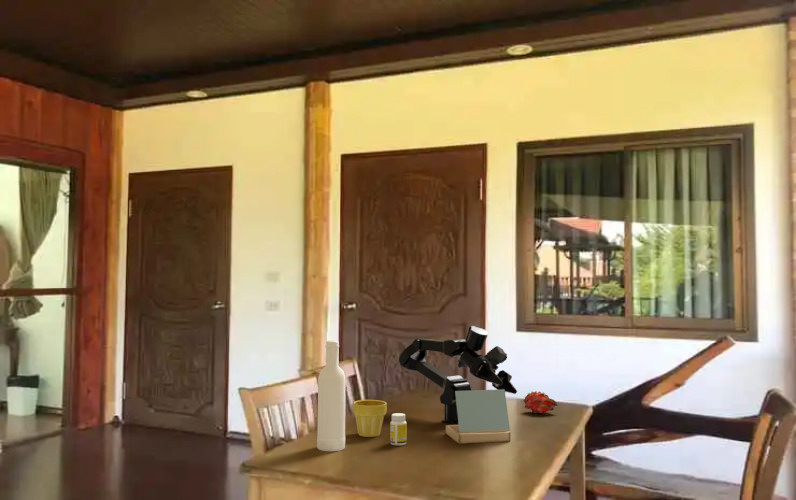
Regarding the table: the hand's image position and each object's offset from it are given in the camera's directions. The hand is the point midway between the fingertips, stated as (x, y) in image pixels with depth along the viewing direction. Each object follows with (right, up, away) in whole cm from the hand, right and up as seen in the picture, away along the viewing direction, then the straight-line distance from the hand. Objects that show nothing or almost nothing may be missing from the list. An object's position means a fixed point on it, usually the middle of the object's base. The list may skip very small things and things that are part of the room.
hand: (509, 388), depth 202 cm
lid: (-9, -5, -7) cm, 13 cm away
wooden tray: (-10, -14, -3) cm, 18 cm away
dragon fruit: (+17, -16, +33) cm, 41 cm away
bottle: (-53, -13, -17) cm, 57 cm away
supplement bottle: (-34, -14, -12) cm, 39 cm away
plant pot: (-43, -14, -1) cm, 45 cm away
